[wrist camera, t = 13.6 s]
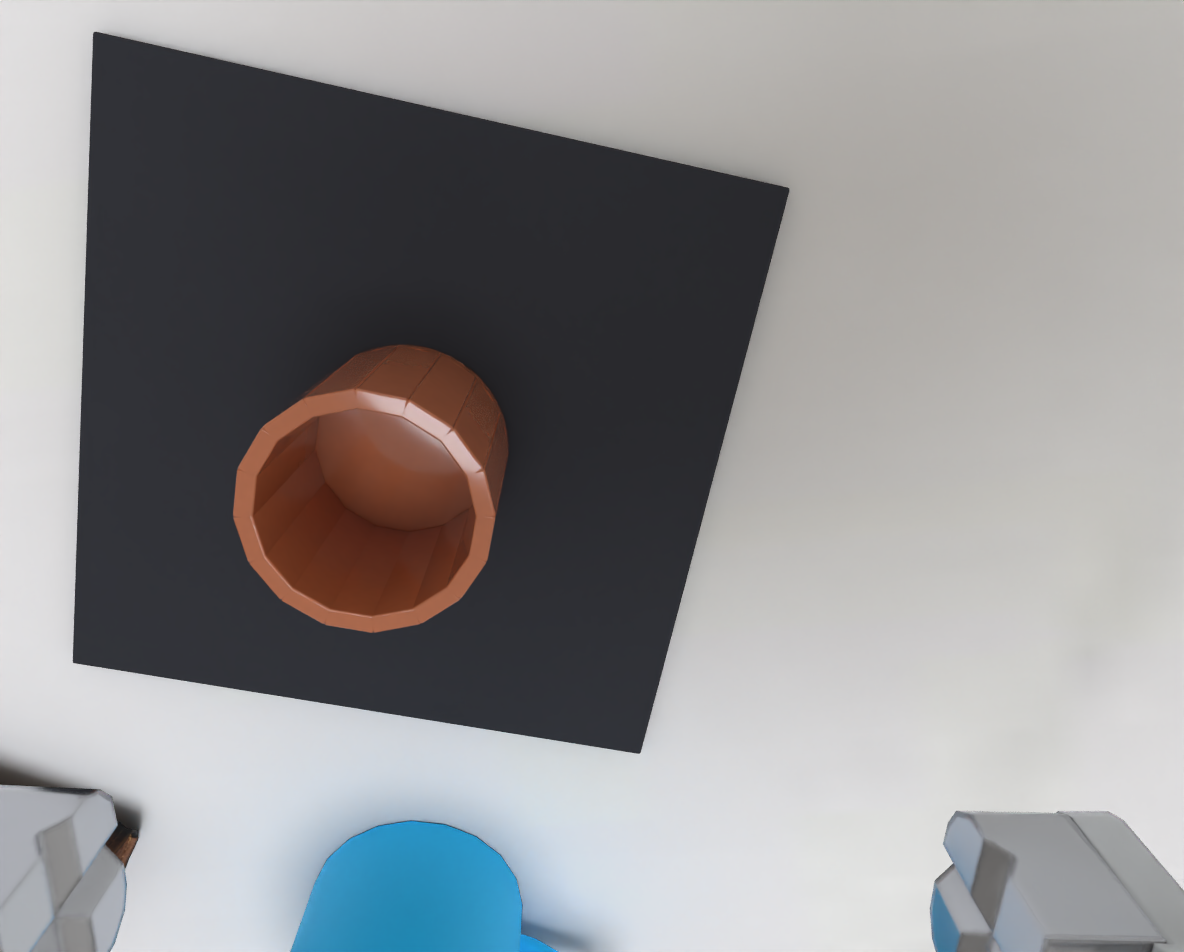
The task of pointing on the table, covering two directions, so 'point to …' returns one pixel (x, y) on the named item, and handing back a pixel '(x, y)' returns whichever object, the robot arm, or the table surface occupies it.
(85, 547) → the mat
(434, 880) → the mug
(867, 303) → the table surface
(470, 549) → the cup
